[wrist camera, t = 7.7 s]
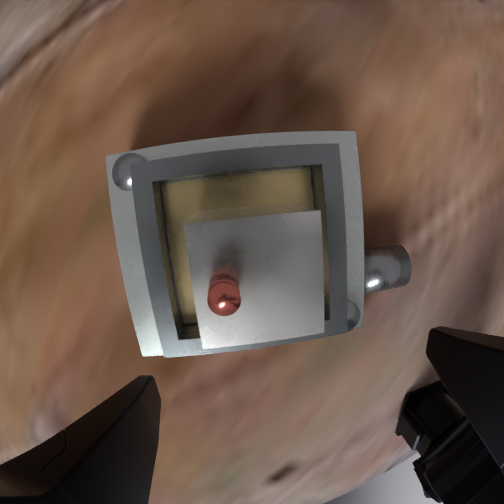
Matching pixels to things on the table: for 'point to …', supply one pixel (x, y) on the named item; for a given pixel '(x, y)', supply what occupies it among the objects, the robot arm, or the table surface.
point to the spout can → (256, 273)
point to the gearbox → (237, 195)
